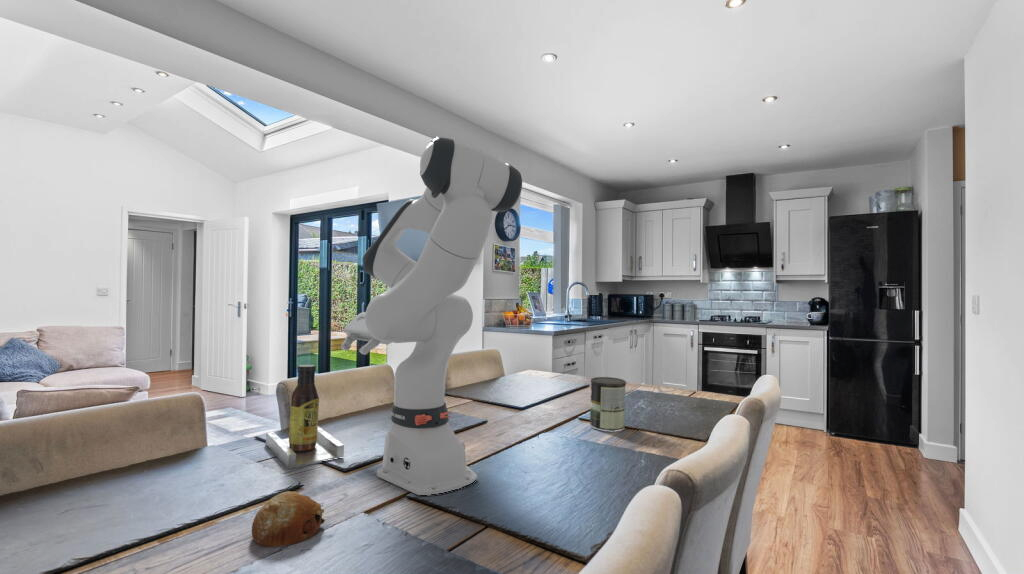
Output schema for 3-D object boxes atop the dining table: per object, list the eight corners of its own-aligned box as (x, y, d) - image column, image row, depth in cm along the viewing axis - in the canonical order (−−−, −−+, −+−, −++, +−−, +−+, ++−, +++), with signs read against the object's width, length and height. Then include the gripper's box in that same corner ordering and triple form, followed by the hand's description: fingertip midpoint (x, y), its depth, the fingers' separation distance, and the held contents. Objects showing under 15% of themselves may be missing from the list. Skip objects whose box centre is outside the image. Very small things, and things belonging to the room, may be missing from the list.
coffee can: (583, 427, 140) (584, 380, 140) (598, 420, 149) (599, 375, 149) (616, 434, 134) (617, 385, 134) (630, 427, 143) (631, 380, 143)
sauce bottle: (306, 454, 110) (308, 368, 110) (282, 451, 111) (285, 366, 112) (322, 445, 116) (325, 364, 117) (300, 442, 118) (302, 362, 118)
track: (343, 457, 110) (343, 444, 110) (288, 469, 102) (288, 455, 102) (315, 435, 125) (316, 424, 125) (265, 444, 118) (266, 432, 118)
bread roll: (279, 538, 82) (260, 496, 81) (336, 511, 82) (317, 470, 82) (253, 572, 72) (231, 524, 71) (317, 542, 73) (296, 495, 72)
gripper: (359, 303, 135) (325, 339, 128) (401, 306, 122) (365, 346, 114) (373, 318, 139) (340, 354, 131) (414, 323, 125) (381, 363, 118)
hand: (352, 351), depth 123 cm, fingers open, 8 cm apart
